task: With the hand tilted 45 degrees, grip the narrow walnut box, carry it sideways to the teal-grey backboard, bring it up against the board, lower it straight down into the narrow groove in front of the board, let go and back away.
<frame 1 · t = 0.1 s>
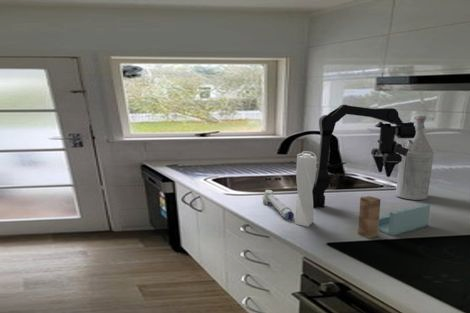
hand: (384, 174, 140), 15 cm above the worktop, tool pointing down, fingers open, 9 cm apart
walnut box: (367, 234, 113), on the worktop
backboard channel: (391, 229, 118), on the worktop
syringe: (276, 211, 139), on the worktop
white bottle: (411, 197, 159), on the worktop
skyscraper: (303, 223, 124), on the worktop
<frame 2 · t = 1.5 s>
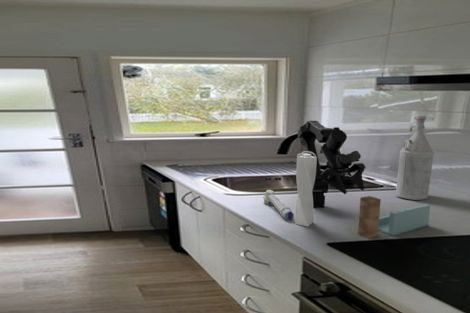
hand: (354, 191, 118), 13 cm above the worktop, tool tilted 45°, fingers open, 9 cm apart
nothing on the worktop moved.
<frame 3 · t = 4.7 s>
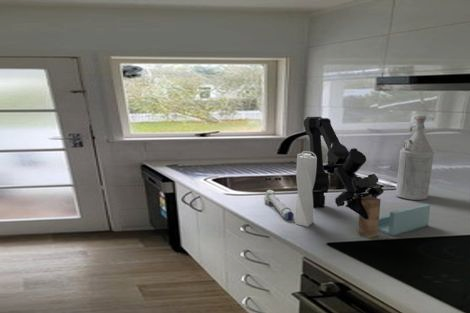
hand: (372, 217, 111), 7 cm above the worktop, tool tilted 45°, fingers closed on walnut box, 4 cm apart
walnut box: (367, 234, 113), on the worktop, touching gripper
everything else where it was.
when the fingers open (9 cm above the worktop, at t = 8.8 s): walnut box drops 2 cm, resting on backboard channel.
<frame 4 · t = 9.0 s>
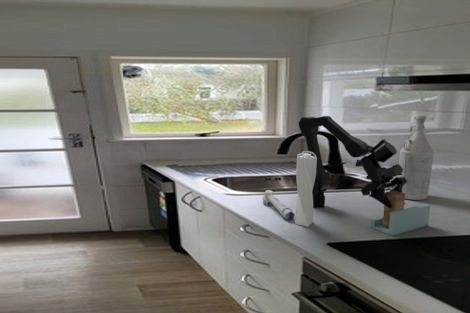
hand: (397, 206, 115), 9 cm above the worktop, tool tilted 45°, fingers open, 7 cm apart
walnut box: (392, 227, 118), point 1 cm above the worktop, touching backboard channel
everything else where it was.
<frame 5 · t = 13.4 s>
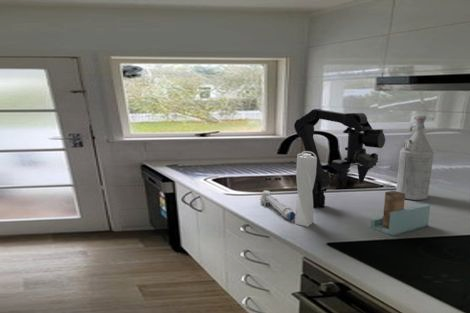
hand: (352, 184, 130), 13 cm above the worktop, tool pointing down, fingers open, 9 cm apart
at the end: walnut box 0.2 cm off-centre on the backboard channel, point 0.6 cm above the backboard channel's base; walnut box tilted 0°; the gripper is holding nothing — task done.
